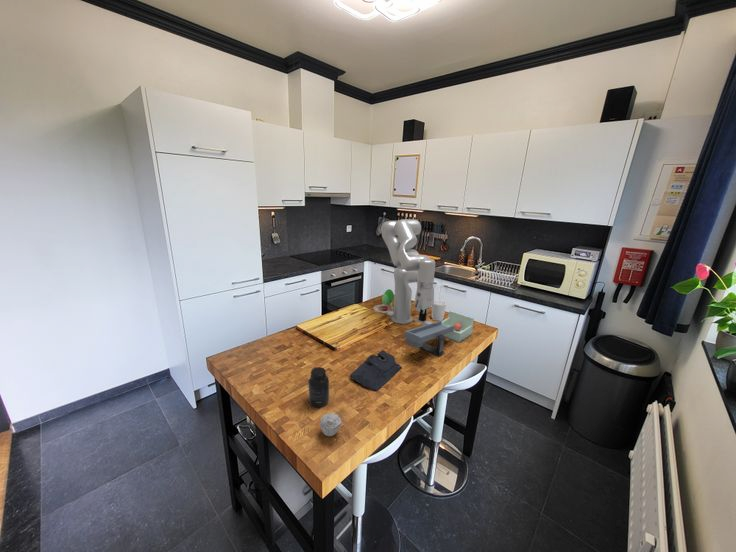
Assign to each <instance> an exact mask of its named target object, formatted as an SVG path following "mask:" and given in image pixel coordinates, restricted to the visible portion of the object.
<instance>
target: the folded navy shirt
mask: <svg viewBox="0 0 736 552" xmlns="http://www.w3.org/2000/svg"><path fill="white" fill-rule="evenodd" d="M402 369H403V367H402V366H401V364H398V363H397V362H396V359H395V356H394V355H392V354H391V353H388V352H386V351H385V350H384V349H381V350H380V351H379V352H378V353H377V355H376V354H371V355H370V356H368V357H367V358H366V359H365V360H364V361H363V363H361V364H360V365H358V367H357V368H355V370H353V371H352V372H351V373H350V375H349V376H350V379H353V380H354V381H355V382H357V383H359V384H361V385H362V387H363V388H367V389H369V390H370V391H376V392H379V390H381V389H382V388H383V386H385V385H386V384H387V383H389V381H391V380H392V378H393V377H394V376H396V374H398V373H399V372H400V371H401V370H402Z"/></svg>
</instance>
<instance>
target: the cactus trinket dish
mask: <svg viewBox="0 0 736 552" xmlns="http://www.w3.org/2000/svg"><path fill="white" fill-rule="evenodd" d="M383 293H384V294H383V295H382V296H381V302H382V304H376V305H374V306H373V311H375V312H376V313H382V314H384V313H385V314H386V311H393V308H394V305H393V302H394V295H395V293H394V291H393V290H392V289H386V290H385V291H384V292H383Z"/></svg>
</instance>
